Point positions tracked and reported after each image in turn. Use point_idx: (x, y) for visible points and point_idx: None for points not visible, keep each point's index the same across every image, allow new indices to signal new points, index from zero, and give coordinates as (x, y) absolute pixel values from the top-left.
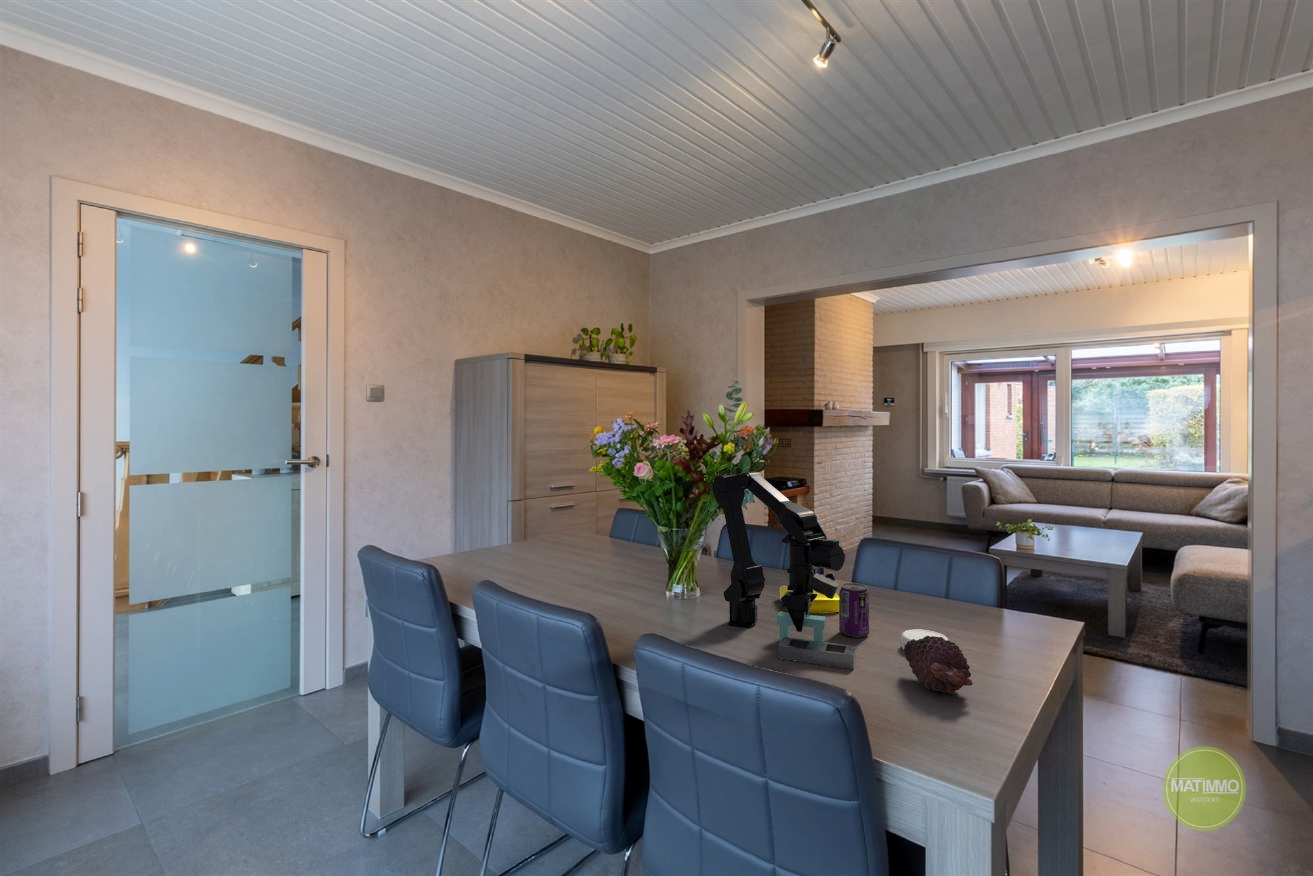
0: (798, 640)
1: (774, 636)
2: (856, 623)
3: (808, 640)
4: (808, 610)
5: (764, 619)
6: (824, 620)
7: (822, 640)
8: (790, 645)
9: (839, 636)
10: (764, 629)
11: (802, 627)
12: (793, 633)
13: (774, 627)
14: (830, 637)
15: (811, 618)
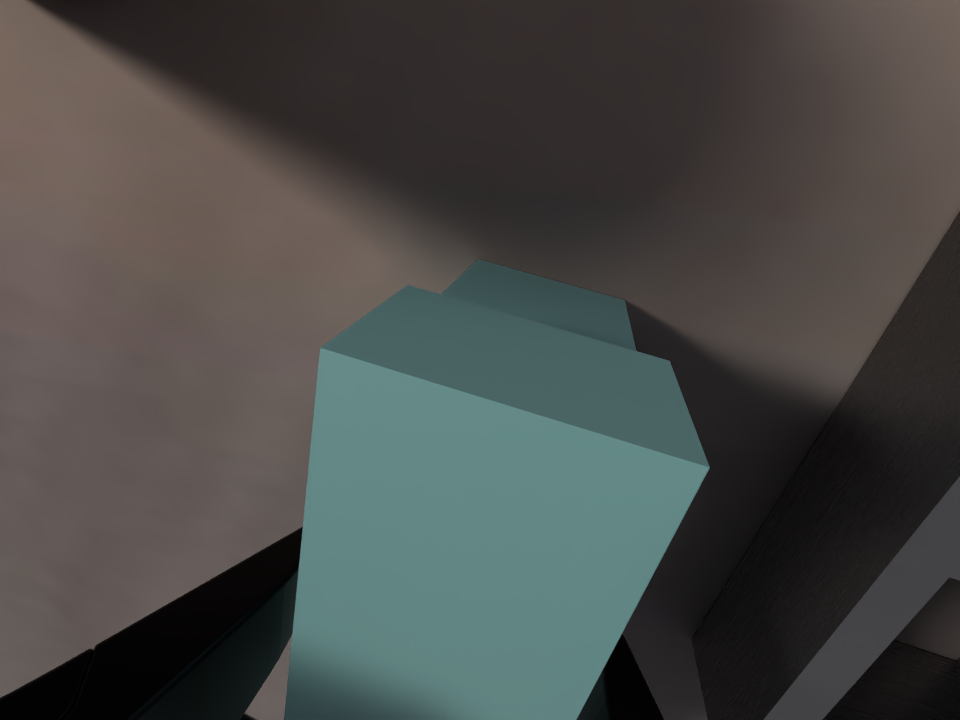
0: (851, 674)
1: None
2: None
3: (898, 581)
4: (133, 697)
5: (55, 615)
6: (629, 433)
7: (550, 298)
8: (878, 712)
9: (187, 18)
10: None
11: (634, 688)
12: (262, 492)
13: (181, 592)
14: (257, 147)
15: (533, 693)
